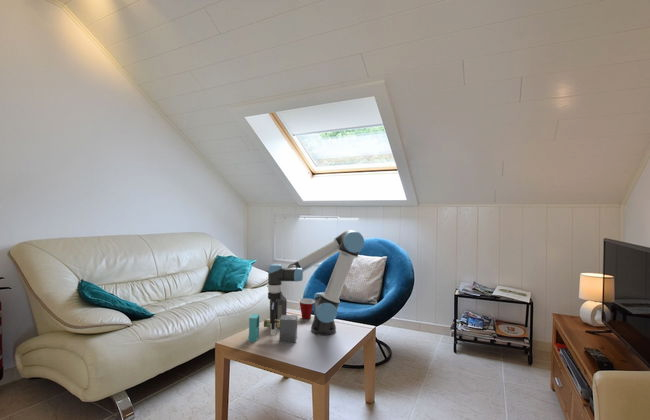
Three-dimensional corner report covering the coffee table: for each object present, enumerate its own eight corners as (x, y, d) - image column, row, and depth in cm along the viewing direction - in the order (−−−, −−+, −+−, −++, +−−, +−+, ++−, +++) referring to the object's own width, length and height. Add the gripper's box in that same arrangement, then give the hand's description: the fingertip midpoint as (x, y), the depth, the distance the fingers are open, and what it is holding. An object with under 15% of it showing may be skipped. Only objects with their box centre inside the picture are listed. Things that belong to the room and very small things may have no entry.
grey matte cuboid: (297, 337, 198) (297, 315, 198) (295, 342, 190) (296, 319, 190) (281, 336, 198) (281, 314, 198) (279, 342, 190) (279, 319, 190)
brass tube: (295, 326, 196) (295, 318, 196) (294, 329, 192) (294, 321, 192) (265, 325, 196) (265, 317, 196) (263, 328, 192) (263, 320, 192)
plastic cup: (308, 321, 226) (308, 303, 226) (295, 318, 232) (295, 300, 232) (317, 317, 235) (317, 299, 235) (304, 314, 241) (305, 297, 241)
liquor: (276, 322, 223) (276, 276, 223) (287, 324, 219) (288, 277, 219) (267, 326, 215) (268, 278, 215) (279, 329, 211) (280, 280, 211)
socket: (259, 336, 198) (259, 313, 198) (256, 341, 190) (256, 318, 190) (252, 336, 198) (252, 313, 198) (248, 341, 190) (249, 318, 190)
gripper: (270, 288, 203) (270, 327, 203) (265, 295, 185) (264, 338, 185) (283, 288, 203) (282, 327, 203) (279, 295, 185) (278, 338, 185)
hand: (273, 332), depth 194 cm, fingers closed on brass tube, 5 cm apart
